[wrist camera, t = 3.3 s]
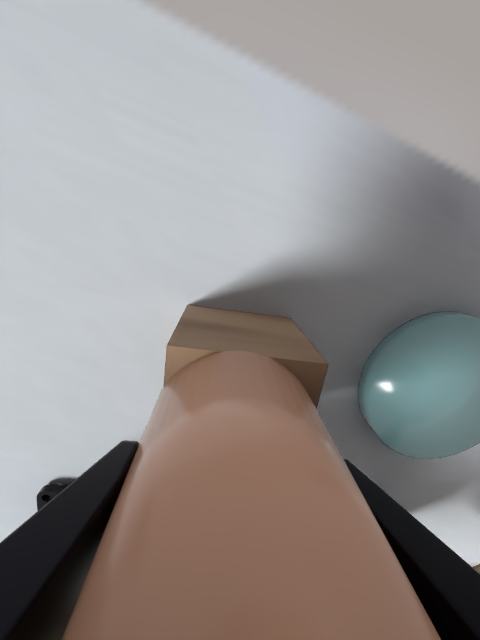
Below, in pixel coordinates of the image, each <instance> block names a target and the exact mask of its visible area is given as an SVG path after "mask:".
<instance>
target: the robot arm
mask: <svg viewBox="0 0 480 640" xmlns="http://www.w3.org/2000/svg"><path fill="white" fill-rule="evenodd" d="M138 446H139V443H138V442H137V441H126V440H125V441H122V442H120V443H119V444H118V445H117V446H116V447H114V448H113V449H112V450H111V451H110V452H108V453H107V454H106V455H105V456H104V457H102V458H101V459H100V460H99V461H98V462H96V463H95V464H94V465H93V466H92V467H90V468H89V469H88V470H87V471H86V472H84V473H83V474H82V475H81V476H80V477H78V478H77V479H76V480H75V481H74V482H72V483H71V484H70V485H69V486H64V485H46V486H44V487H43V488H42V489H41V490H40V492H39V493H38V495H37V508H38V512H36V513H35V514H34V515H33V516H32V517H31V518H29V519H28V520H27V521H26V522H25V523H23V524H22V525H21V526H20V527H19V528H17V529H16V530H15V531H14V532H13V533H11V534H10V535H9V536H8V537H7V538H5V539H4V540H3V541H2V542H1V543H0V640H61V638H62V636H63V633H64V631H65V628H66V626H67V623H68V621H69V618H70V616H71V613H72V611H73V608H74V606H75V603H76V601H77V598H78V596H79V593H80V591H81V588H82V586H83V583H84V581H85V578H86V576H87V573H88V571H89V568H90V566H91V563H92V561H93V558H94V556H95V553H96V551H97V548H98V546H99V543H100V541H101V538H102V536H103V533H104V531H105V528H106V526H107V523H108V521H109V518H110V516H111V513H112V511H113V508H114V506H115V503H116V501H117V498H118V496H119V493H120V491H121V488H122V486H123V483H124V481H125V478H126V476H127V474H128V471H129V469H130V466H131V464H132V461H133V459H134V456H135V454H136V451H137V449H138ZM344 461H345V463H346V465H347V467H348V469H349V470H350V472H351V474H352V476H353V478H354V480H355V482H356V483H357V485H358V487H359V489H360V491H361V493H362V494H363V496H364V498H365V500H366V502H367V504H368V506H369V507H370V509H371V511H372V513H373V515H374V517H375V518H376V520H377V522H378V524H379V526H380V528H381V530H382V531H383V533H384V535H385V537H386V539H387V541H388V542H389V544H390V546H391V548H392V550H393V552H394V554H395V555H396V557H397V559H398V561H399V563H400V565H401V566H402V568H403V570H404V572H405V574H406V576H407V578H408V579H409V581H410V583H411V585H412V587H413V589H414V590H415V592H416V594H417V596H418V598H419V600H420V602H421V603H422V605H423V607H424V609H425V611H426V613H427V614H428V616H429V618H430V620H431V622H432V624H433V626H434V627H435V629H436V631H437V633H438V635H439V637H440V638H441V640H480V574H479V573H478V572H477V571H476V570H475V569H473V568H472V567H471V566H470V565H469V564H468V563H467V562H465V561H464V560H463V559H462V558H461V557H460V556H458V555H457V554H456V553H455V552H454V551H453V550H451V549H450V548H449V547H448V546H447V545H446V544H444V543H443V542H442V541H441V540H440V539H439V538H437V537H436V536H435V535H434V534H433V533H432V532H431V531H429V530H428V529H427V528H426V527H425V526H424V525H422V524H421V523H420V522H419V521H418V520H417V519H415V518H414V517H413V516H412V515H411V514H410V513H408V512H407V511H406V510H405V509H404V508H403V507H402V506H400V505H399V504H398V503H397V502H396V501H395V500H393V499H392V498H391V497H390V496H389V495H388V494H386V493H385V492H384V491H383V490H382V489H381V488H379V487H378V486H377V485H376V484H375V483H374V482H372V481H371V480H370V479H369V478H368V477H367V476H366V475H364V474H363V473H362V472H361V471H360V470H359V469H357V468H356V467H355V466H354V465H353V464H352V463H350V462H349V461H348V460H346V459H344Z"/></svg>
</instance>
